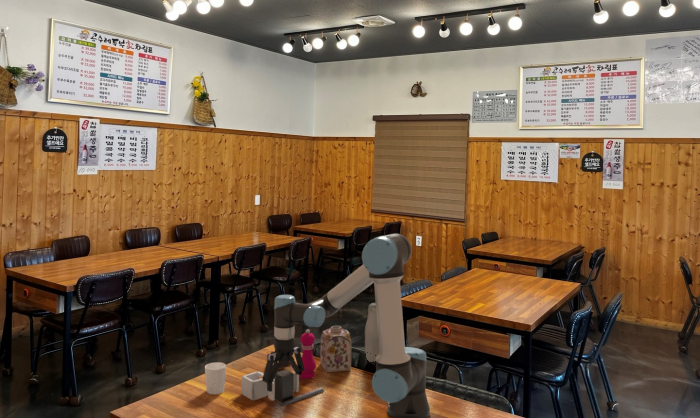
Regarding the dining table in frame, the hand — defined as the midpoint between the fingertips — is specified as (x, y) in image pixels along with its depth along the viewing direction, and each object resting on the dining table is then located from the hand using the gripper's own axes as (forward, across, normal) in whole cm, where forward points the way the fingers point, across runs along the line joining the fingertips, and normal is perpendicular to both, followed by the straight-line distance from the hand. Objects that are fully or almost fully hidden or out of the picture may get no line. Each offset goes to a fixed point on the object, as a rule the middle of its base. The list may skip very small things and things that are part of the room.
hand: (283, 394), depth 196 cm
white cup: (+2, +15, -24) cm, 28 cm away
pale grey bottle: (+2, -52, -2) cm, 52 cm away
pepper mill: (+2, -21, -12) cm, 24 cm away
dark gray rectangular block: (+2, 0, -5) cm, 6 cm away
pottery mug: (+2, -19, -28) cm, 34 cm away
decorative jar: (+2, -37, -12) cm, 39 cm away
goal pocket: (+2, +5, -11) cm, 12 cm away
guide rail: (+2, -6, +4) cm, 7 cm away
